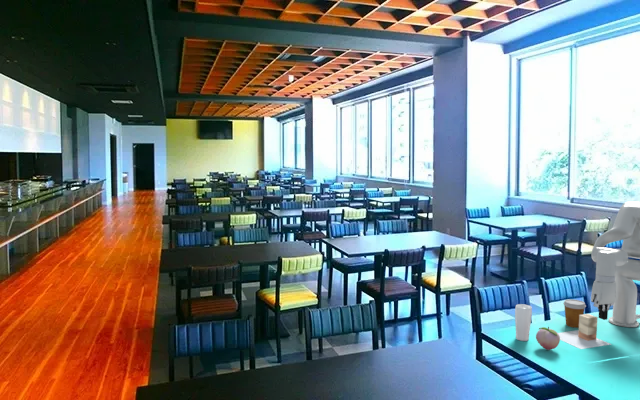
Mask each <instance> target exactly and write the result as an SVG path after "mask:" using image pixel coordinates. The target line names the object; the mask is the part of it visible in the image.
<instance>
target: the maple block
mask: <svg viewBox="0 0 640 400" xmlns="http://www.w3.org/2000/svg"><path fill="white" fill-rule="evenodd" d="M598 319H599V316H595V315H593V314H590V313H584V314H583V315H579V328H578V331H579V332H578V337H580V338H582V339H585V340H587V341H589V340H595V339H596V338H597V334H598V333H597V332H598V331H597V330H598Z"/></svg>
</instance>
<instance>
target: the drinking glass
mask: <svg viewBox="0 0 640 400" xmlns="http://www.w3.org/2000/svg"><path fill="white" fill-rule="evenodd" d="M514 309H515V311H514V318H515V320H514V321H515V339H516V340H518V341H521V342H527V341H529V339H530V331H531V330H530V329H531V324H532V323H531V322H532V317H533V316H532V314H533V307H532V306H531V305H528V304H524V303H523V304H522V303H518V304H516V305H515V308H514Z"/></svg>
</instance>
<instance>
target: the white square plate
mask: <svg viewBox="0 0 640 400" xmlns="http://www.w3.org/2000/svg"><path fill="white" fill-rule="evenodd" d="M578 332H579V329H577V330H576V329H575V330H570V331H563V332H562V331H561V332H557V333H558V334H559V336H560V341H561V342H564V343H566V344H568V345H570V346H572V347H575V348H577V349H579V350H584V349H591V348H598V347H602V346H603V347H605V346H610V345H611V346H612V344H611V343H610V342H607V341H605V340H603V339H600V338H597V337H596V339H595V340H589V341H587V340H585V339H582V338H580V337H578Z"/></svg>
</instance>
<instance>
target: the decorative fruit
mask: <svg viewBox="0 0 640 400" xmlns="http://www.w3.org/2000/svg"><path fill="white" fill-rule="evenodd" d="M558 333H559V332H557V331H556V330H554V329H553V328H550V327H549V326H547V327H544V326H543V327H539V328H538V331H537V332H536V334H535V339H536V342H537V343H538V344H539V345H540V346H541V347H542V348H543V349H545V350H547V351H550V350H555V349H556V348H557V347H558V346H559V344H560V341H561V340H560V336H559V334H558Z"/></svg>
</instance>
